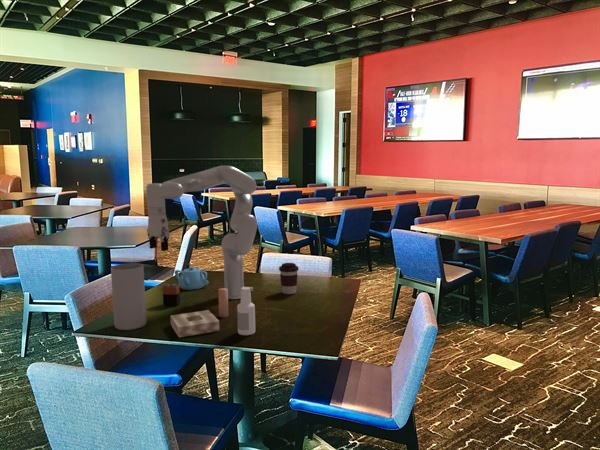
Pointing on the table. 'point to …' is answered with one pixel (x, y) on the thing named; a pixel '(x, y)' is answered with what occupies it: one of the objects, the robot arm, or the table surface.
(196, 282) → the teapot
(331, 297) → the table surface
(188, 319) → the socket block
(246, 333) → the spray bottle
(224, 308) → the peg
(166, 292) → the battery
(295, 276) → the coffee cup
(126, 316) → the cylinder vase
